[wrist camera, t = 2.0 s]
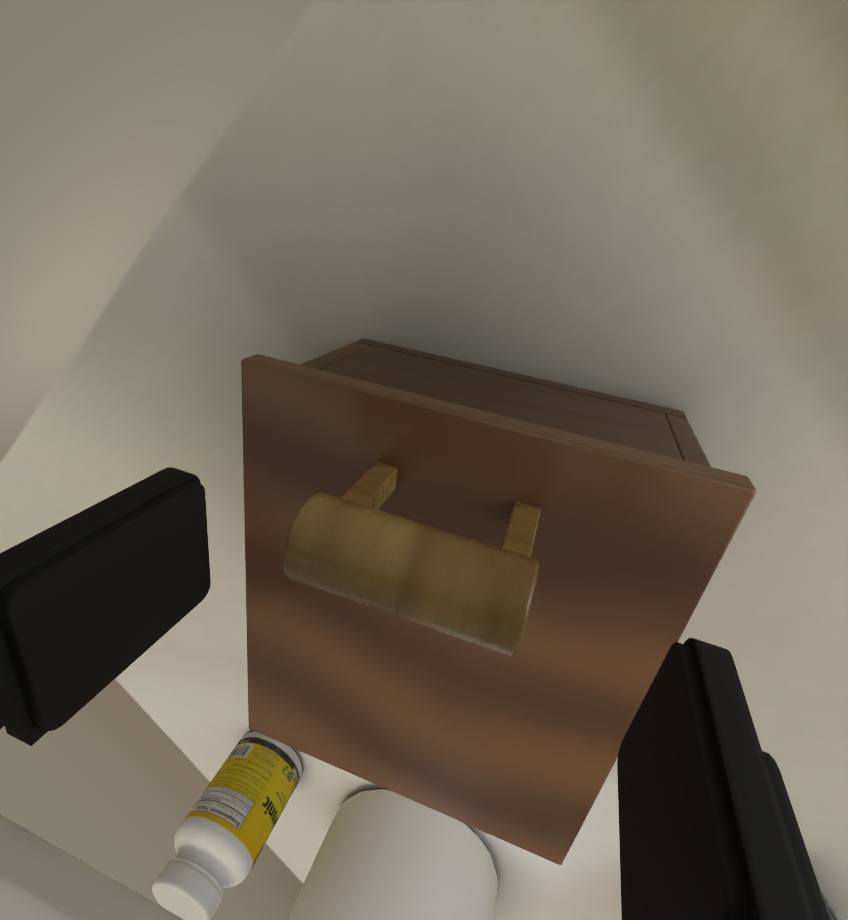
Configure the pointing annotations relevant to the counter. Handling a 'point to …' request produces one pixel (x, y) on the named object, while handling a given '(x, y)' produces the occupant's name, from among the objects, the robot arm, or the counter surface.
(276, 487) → the lid
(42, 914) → the robot arm
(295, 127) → the counter surface
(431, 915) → the white canister
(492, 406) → the chest
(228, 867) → the supplement bottle
